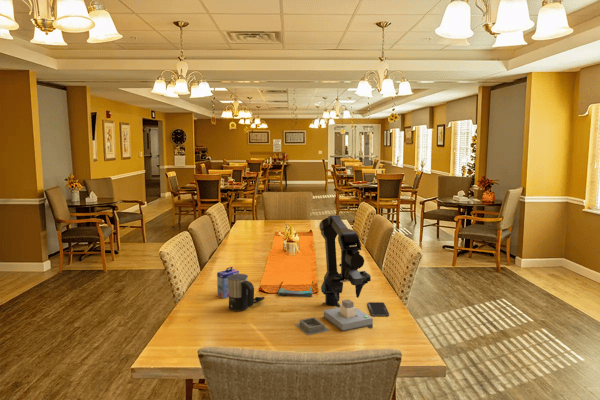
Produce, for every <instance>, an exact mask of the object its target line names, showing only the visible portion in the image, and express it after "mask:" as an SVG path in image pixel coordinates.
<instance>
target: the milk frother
mask: <svg viewBox="0 0 600 400" xmlns="http://www.w3.org/2000/svg"><path fill="white" fill-rule="evenodd" d="M227 278H228V291H229V297H228V310H229V311H233V312H242V311H247V310H248V309H249V308H251V307H253V306H254V305H255V304H258V303H260V302H262V301H264V300H265V297H264V296H255V286H254V284H253V283H252V282H251V281H249V280H248V275H247V274H244V273H239V274H232V275H229V276H228V277H227Z"/></svg>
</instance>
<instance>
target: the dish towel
mask: <svg viewBox="0 0 600 400" xmlns="http://www.w3.org/2000/svg"><path fill="white" fill-rule="evenodd" d="M311 284H312V283H311ZM313 292H314V291H313ZM313 292H312V291H311V287H310V291H304V292H303V291H292V290H291V291H290V290H285V289H284V288H280V287H279V289H278V291H277V296H278V297H291V298H292V297H295V298H296V297H297V298H311V297H313Z"/></svg>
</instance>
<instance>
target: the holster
mask: <svg viewBox="0 0 600 400" xmlns="http://www.w3.org/2000/svg"><path fill="white" fill-rule="evenodd" d="M294 325H295V326H296V327H297V328H298V329H300V331H302V332H303V333H304V334H305V335H306V336H312V335H317V334H321V333H325V332H330V329H329V328H328V327H326V326H325V324H324V323H323V322H321V320H319V319H318V318H317V317H315V316H314V317H308V318H304V319H299V322H298V323H294Z"/></svg>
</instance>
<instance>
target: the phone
mask: <svg viewBox="0 0 600 400" xmlns="http://www.w3.org/2000/svg"><path fill="white" fill-rule="evenodd" d="M366 304H367V308H368V311H369V313H370V317H389V316H390V313H389V311H388V307H387V306H386V304H385V303H384V302H379V301H378V302H374V301H373V302H372V301H371V302H367V303H366Z"/></svg>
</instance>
